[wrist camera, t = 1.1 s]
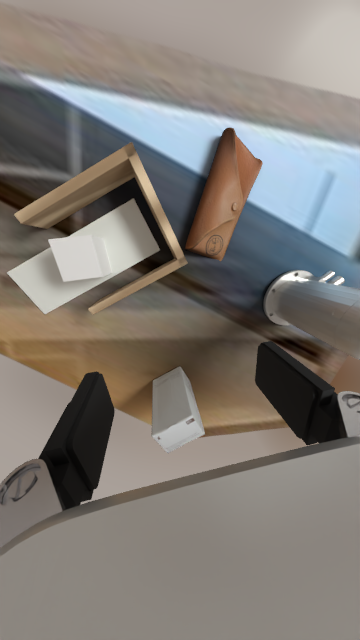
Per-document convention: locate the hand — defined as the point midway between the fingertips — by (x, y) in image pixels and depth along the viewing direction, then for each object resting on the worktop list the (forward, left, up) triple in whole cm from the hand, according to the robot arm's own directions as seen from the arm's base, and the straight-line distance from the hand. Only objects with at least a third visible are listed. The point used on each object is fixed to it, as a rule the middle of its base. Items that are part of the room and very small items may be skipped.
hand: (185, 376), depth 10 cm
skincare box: (+13, +19, -27) cm, 36 cm away
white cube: (+7, -13, -27) cm, 31 cm away
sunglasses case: (-17, -5, -28) cm, 33 cm away
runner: (+8, -13, -27) cm, 31 cm away
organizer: (+2, -12, -27) cm, 29 cm away
